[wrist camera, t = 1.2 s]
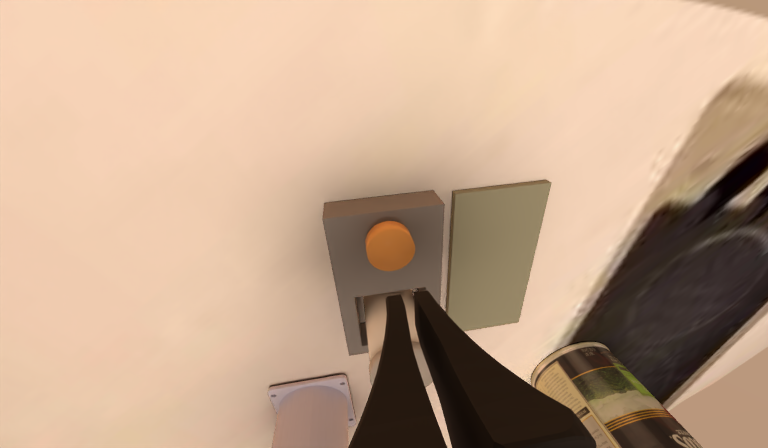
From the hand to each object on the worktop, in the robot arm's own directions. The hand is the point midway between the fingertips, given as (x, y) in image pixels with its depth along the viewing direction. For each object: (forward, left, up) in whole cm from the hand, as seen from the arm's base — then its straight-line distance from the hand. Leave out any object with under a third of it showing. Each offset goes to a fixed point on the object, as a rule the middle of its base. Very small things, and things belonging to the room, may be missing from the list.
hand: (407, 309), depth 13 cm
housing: (-5, 0, -9) cm, 11 cm away
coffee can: (-24, -22, -10) cm, 34 cm away
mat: (-6, -9, -9) cm, 15 cm away
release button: (0, 0, -8) cm, 8 cm away
